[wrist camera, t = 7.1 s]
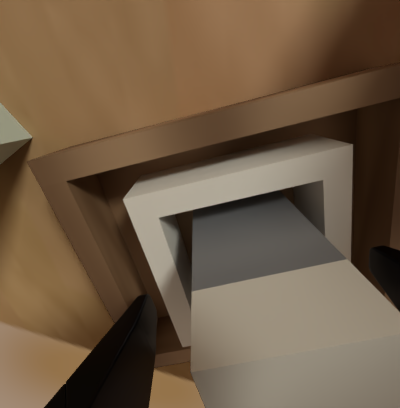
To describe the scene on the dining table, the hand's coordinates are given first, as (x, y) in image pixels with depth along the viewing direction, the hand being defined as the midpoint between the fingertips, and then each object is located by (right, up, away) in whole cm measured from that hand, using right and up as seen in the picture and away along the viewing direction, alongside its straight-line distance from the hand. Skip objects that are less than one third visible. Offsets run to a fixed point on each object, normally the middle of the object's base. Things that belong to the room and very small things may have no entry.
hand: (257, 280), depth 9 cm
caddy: (0, +2, +4) cm, 4 cm away
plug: (0, +2, +4) cm, 4 cm away
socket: (0, +2, +4) cm, 4 cm away
